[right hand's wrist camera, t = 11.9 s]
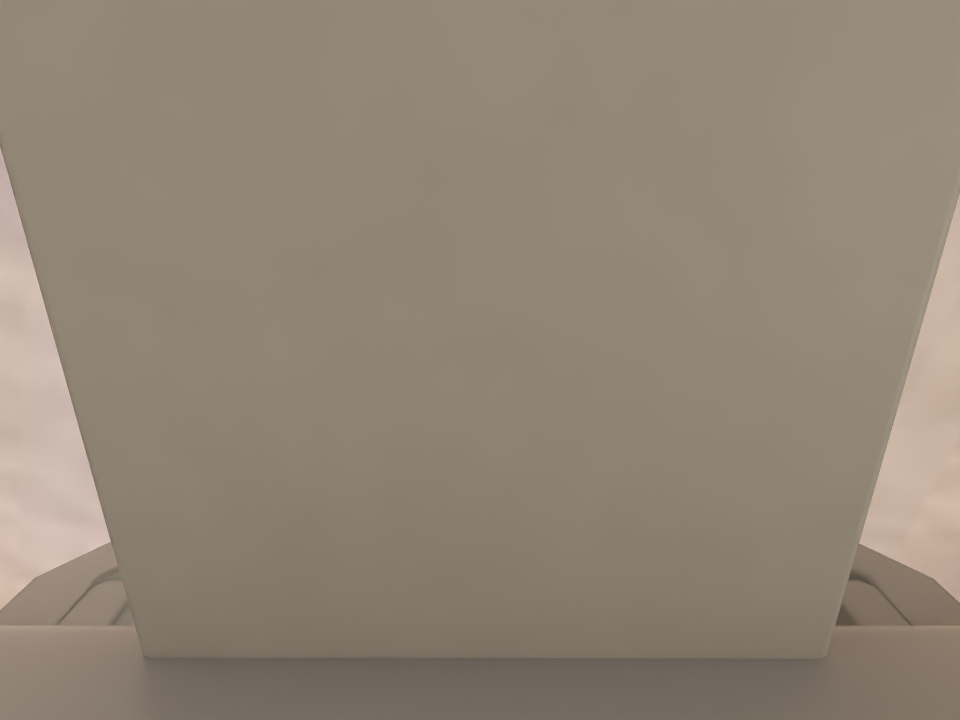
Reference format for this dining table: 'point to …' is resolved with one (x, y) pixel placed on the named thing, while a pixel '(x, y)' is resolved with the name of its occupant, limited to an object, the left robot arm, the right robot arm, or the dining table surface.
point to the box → (484, 309)
